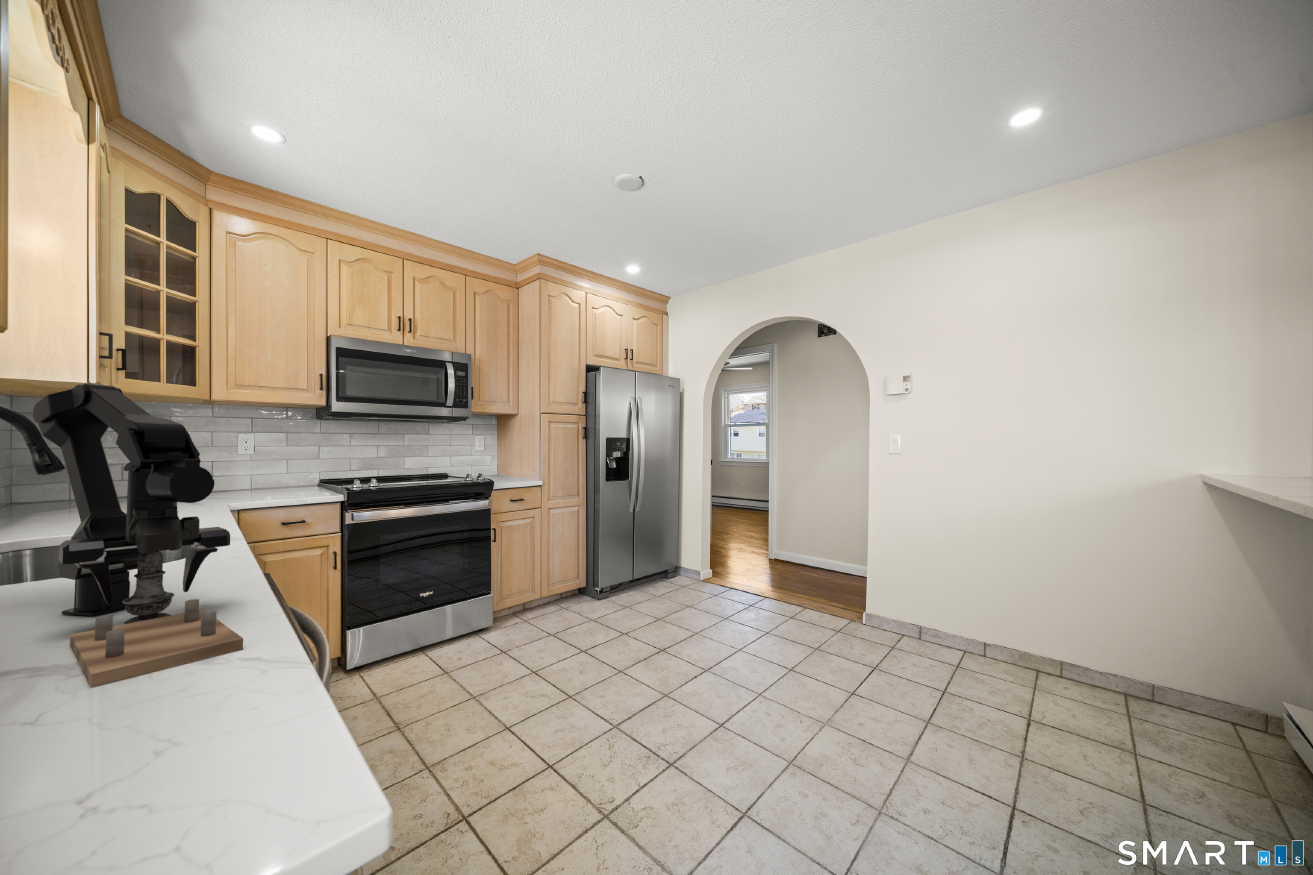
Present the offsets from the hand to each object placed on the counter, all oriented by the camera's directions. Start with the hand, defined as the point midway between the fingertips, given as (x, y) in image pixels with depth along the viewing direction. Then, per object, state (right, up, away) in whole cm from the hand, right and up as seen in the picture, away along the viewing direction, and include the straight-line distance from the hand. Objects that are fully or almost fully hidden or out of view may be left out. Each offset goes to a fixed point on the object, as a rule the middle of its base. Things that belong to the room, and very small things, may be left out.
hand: (148, 597), depth 80 cm
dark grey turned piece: (0, -4, 0) cm, 4 cm away
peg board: (+12, -4, -11) cm, 16 cm away
